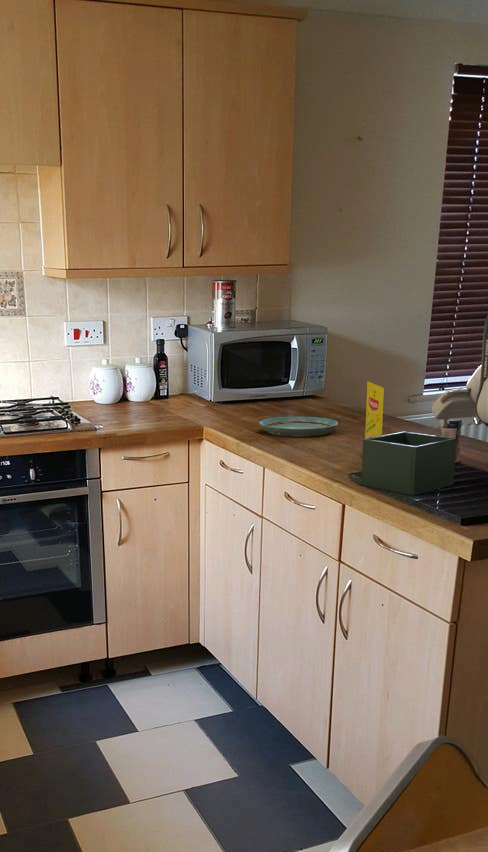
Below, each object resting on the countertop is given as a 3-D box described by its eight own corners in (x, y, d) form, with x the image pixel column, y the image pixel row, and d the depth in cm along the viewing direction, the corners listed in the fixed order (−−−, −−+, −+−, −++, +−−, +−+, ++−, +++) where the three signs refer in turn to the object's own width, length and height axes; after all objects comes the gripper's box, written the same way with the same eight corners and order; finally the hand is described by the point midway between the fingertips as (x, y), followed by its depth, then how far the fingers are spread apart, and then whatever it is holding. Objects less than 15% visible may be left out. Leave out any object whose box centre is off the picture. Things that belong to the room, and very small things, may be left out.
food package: (362, 457, 233) (365, 381, 227) (366, 457, 233) (369, 381, 227) (377, 469, 219) (381, 387, 212) (382, 468, 219) (386, 387, 212)
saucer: (302, 442, 258) (302, 430, 257) (243, 433, 276) (243, 423, 275) (353, 431, 273) (353, 420, 272) (294, 423, 290) (294, 413, 289)
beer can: (461, 463, 221) (464, 416, 218) (442, 464, 221) (445, 417, 218) (455, 460, 226) (458, 413, 222) (436, 460, 226) (439, 414, 222)
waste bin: (453, 485, 199) (456, 438, 196) (413, 496, 191) (416, 447, 187) (400, 476, 210) (403, 431, 207) (360, 485, 202) (362, 439, 198)
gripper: (452, 401, 201) (426, 437, 213) (529, 396, 206) (499, 431, 218) (442, 379, 204) (418, 416, 216) (519, 375, 208) (490, 410, 221)
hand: (459, 423), depth 217 cm, fingers open, 8 cm apart
